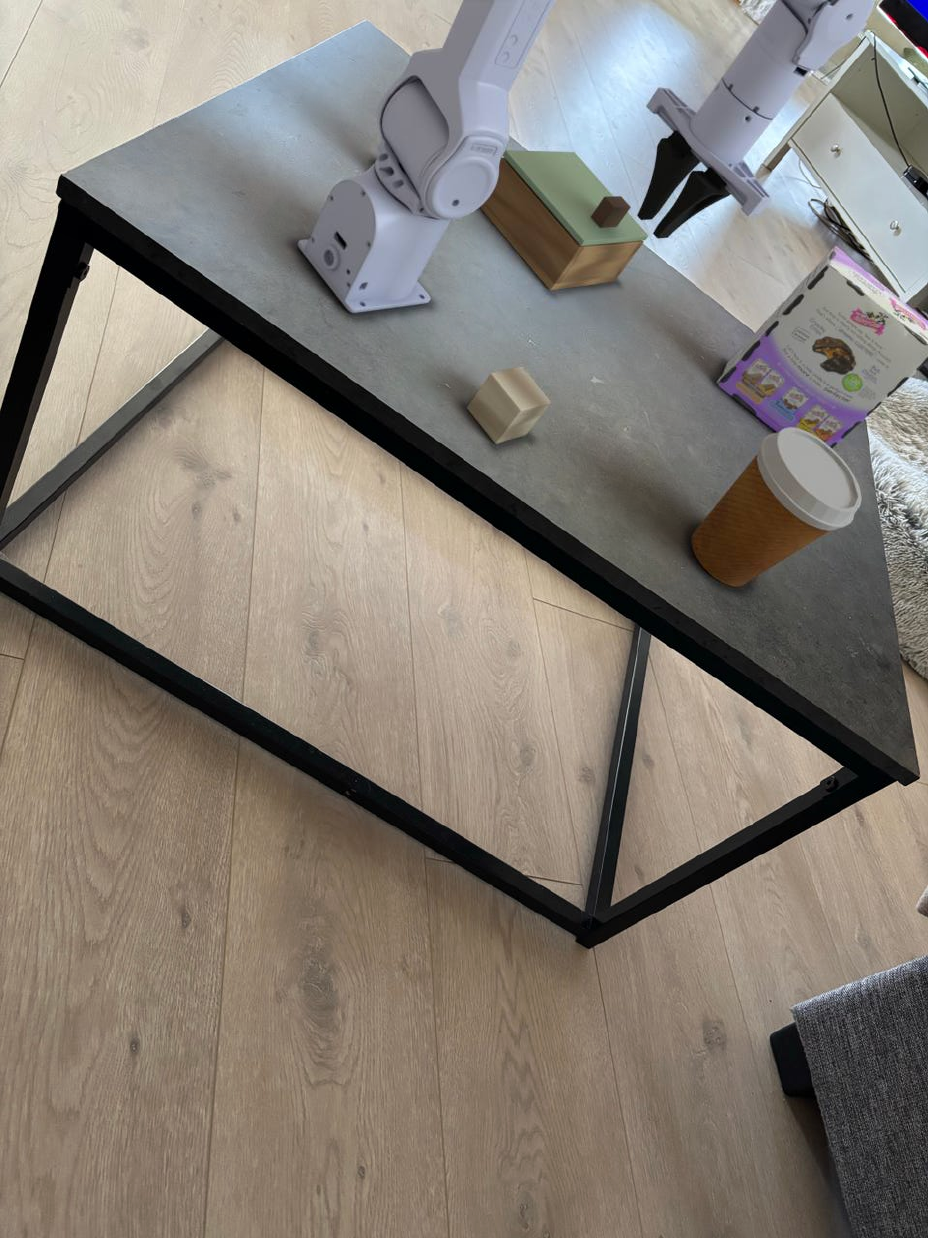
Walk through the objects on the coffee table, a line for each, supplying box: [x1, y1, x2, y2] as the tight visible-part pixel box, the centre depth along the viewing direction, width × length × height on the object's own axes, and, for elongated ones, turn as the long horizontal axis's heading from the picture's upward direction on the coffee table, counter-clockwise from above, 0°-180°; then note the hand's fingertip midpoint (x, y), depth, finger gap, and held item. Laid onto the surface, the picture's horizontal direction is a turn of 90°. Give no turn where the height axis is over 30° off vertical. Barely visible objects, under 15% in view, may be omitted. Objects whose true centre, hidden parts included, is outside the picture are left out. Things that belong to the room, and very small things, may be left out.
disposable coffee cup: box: [691, 427, 863, 587], centre depth 80 cm, size 10×10×12 cm
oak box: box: [479, 156, 645, 291], centre depth 99 cm, size 12×13×5 cm
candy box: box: [716, 245, 928, 450], centre depth 99 cm, size 14×6×16 cm, turn 65°
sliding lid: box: [502, 149, 649, 246], centre depth 96 cm, size 12×13×3 cm
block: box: [466, 365, 552, 445], centre depth 78 cm, size 4×4×4 cm
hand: (652, 226), depth 93 cm, fingers closed
